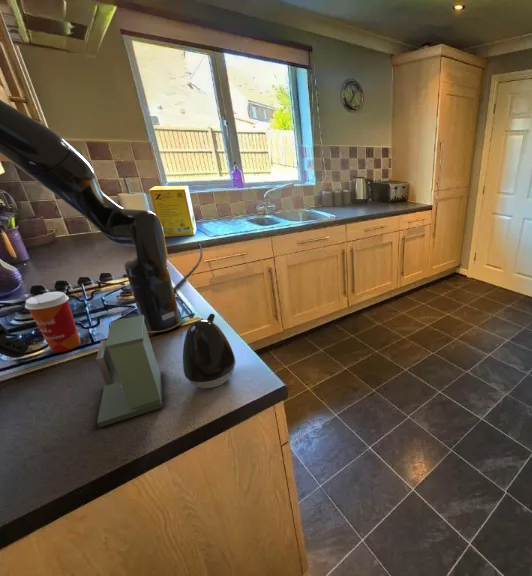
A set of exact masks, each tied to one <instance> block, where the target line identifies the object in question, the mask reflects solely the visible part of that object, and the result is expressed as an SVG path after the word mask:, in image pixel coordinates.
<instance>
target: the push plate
mask: <svg viewBox="0 0 532 576" xmlns="http://www.w3.org/2000/svg"><path fill="white" fill-rule="evenodd" d="M106 342H107V339H104V340H103V339H102V340H100V343H99V347H98V351H97V355H96V359H95V360H96V362H97V365H98V367H99V369H100V370H99V371H100V373H101V375H102V378H103V380H104V383H105V385H110V384H113V383H114V380H115V374H116V368H115V366H114V363H113V360H112V358H111V355H110V352H109V350H107V349H106Z"/></svg>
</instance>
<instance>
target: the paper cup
mask: <svg viewBox="0 0 532 576" xmlns="http://www.w3.org/2000/svg"><path fill="white" fill-rule="evenodd" d="M69 300H70V297H69V296H68V295H67V294H66V293H65V292H63V291H49V292H43V293H42V294H36V295H35V296H30V297H29V298H27V299H26V300H25V305H24V308H25V309H27V310H28V312H29V313H30V315H31V317H32V319H33V320H34V322H35V324H36V326H37V328H38V329H39V331H40V333H41V335H42V336H43V338H44V340H45V342H46V343H47V345H48V347H49V348H50V350H51V352H52V353H64V352H69V351H71V350H74V349H76V348H78V347H79V346H80V345H81V338H80V335H79V330H78V328H77V325H76V322H75V319H74V315H73V311H72V309H71V306H70V302H69Z"/></svg>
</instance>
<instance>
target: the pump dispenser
mask: <svg viewBox="0 0 532 576" xmlns="http://www.w3.org/2000/svg"><path fill="white" fill-rule="evenodd" d="M215 317H216V315H215V313H210V314H209V315H208V317H207V319H200V320H197V321H194V322H193V323H192V324H191V325H190V326H189V328H188V329H187V330H186V333H185V337H184V341H183V346H182V348H183V349H182V371H183V375H184V377H185V378H186V379H187V380H188V381H189V382H190V383H191V384H192V385H193V386H195V387H197V388H201V389H212V388H216V387H219V386H221V385H223V384H224V383H226V382H227V381H228V380H229V379H230V378H231V377H232V375H233V373H234V370H235V366H236V361H237V360H236V357H235V353H234V351H233V349H232V346H231V344H230V342H229V340H228V338H227V337H226V335H225V334H224V332H223V331H222V330H221V328H220V327H219V325H217V324H216V323H215V322H214V320H215Z"/></svg>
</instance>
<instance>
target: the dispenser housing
mask: <svg viewBox="0 0 532 576" xmlns="http://www.w3.org/2000/svg"><path fill="white" fill-rule="evenodd" d="M106 340H107V342H106V349H107V350H109V352H110V355H111V358H112V360H113V363H114V366H115V372H116V374H117V376H118V379H119V381H116V382H113V384H110V385H106V384H105V385H103V390H102V396H101V400H100V404H99V409H98V416H97V421H96V422H97V423H96V424H97V426H98V428H103V427H106V426H109V425H112V424H115V423H118V422H121V421H124V420H127V419H131V418H134V417H137V416H140V415H143V414H147V413H149V412H154V411H155V410H159V409H162V408H163V392H162V391H163V390H162V374H161V370H160V368H159V366H158V362H157V359H156V356H155V353H154V349H153V346H152V342H151V339H150V337H149V333H148V332H147V329H146V326H145V322H144V315H140V316H139V315H135V316H130V317H126V318H120V319H115V320H111V321H110V325H109V329H108V333H107V338H106Z"/></svg>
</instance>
